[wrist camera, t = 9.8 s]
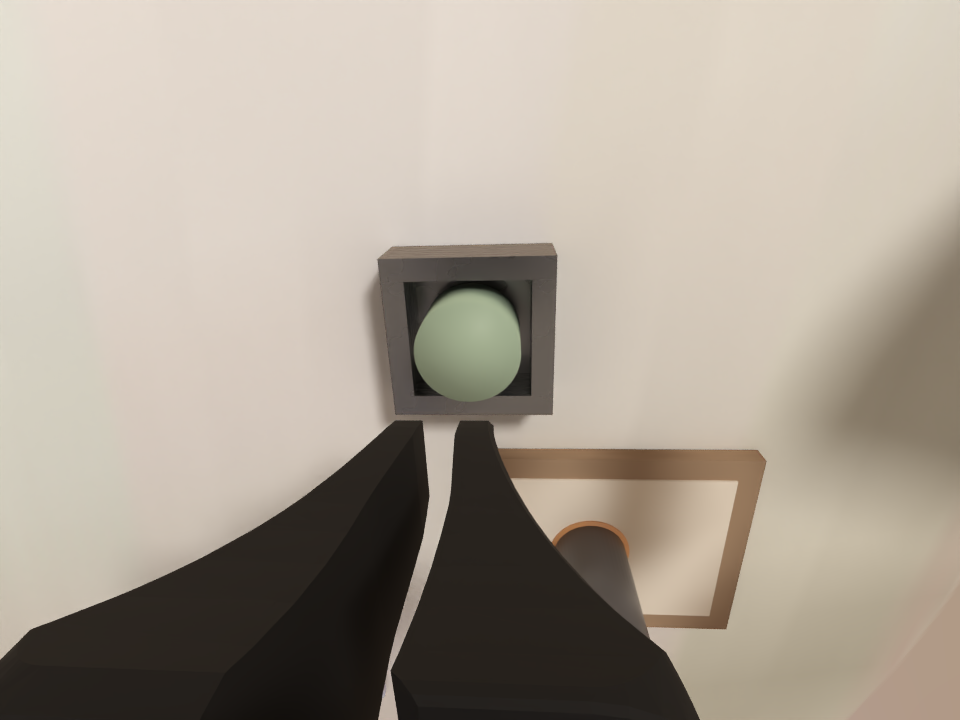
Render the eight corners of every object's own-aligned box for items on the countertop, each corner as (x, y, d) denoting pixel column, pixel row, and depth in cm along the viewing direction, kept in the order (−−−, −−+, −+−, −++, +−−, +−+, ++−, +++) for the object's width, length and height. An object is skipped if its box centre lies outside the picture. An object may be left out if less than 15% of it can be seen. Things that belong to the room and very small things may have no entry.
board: (485, 608, 26) (484, 625, 25) (479, 448, 22) (477, 461, 21) (719, 615, 25) (727, 632, 24) (757, 450, 21) (769, 464, 20)
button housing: (406, 388, 21) (395, 414, 19) (392, 246, 18) (377, 259, 16) (548, 388, 20) (552, 414, 18) (551, 243, 18) (557, 255, 16)
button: (429, 373, 19) (418, 402, 17) (421, 284, 18) (409, 303, 16) (520, 372, 19) (520, 401, 17) (520, 282, 18) (520, 301, 16)
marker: (551, 578, 23) (573, 834, 15) (553, 523, 22) (579, 769, 13) (623, 580, 23) (690, 842, 14) (630, 524, 22) (708, 776, 13)
